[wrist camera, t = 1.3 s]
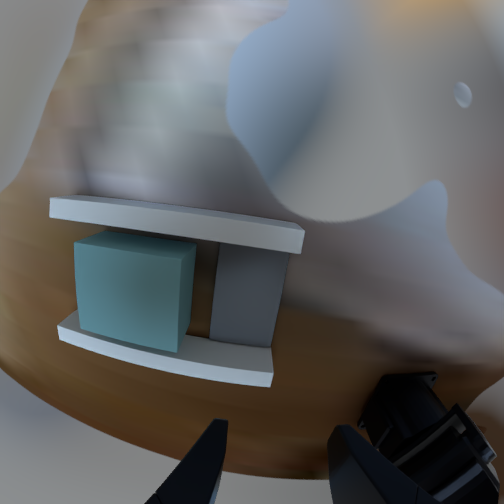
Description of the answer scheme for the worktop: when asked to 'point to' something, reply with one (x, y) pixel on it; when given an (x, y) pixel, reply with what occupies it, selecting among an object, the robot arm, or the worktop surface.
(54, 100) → the worktop surface
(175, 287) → the teal block
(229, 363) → the channel
